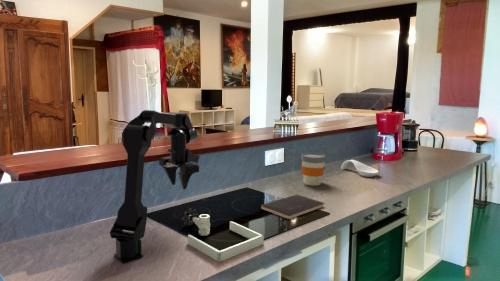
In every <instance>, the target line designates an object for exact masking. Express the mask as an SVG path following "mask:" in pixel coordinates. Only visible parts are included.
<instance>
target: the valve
mask: <svg viewBox="0 0 500 281" xmlns="http://www.w3.org/2000/svg"><path fill="white" fill-rule="evenodd" d="M197 212H198V210H197V209H196V208H195V209H192V208H191V207H190V208H188V211H184V212H183V213H184V216H182V218H181V220H182V221H184V222H183V224H184V225H185V226H187V225H189V226H190V227H192V226H193V223H194V224H195V225H196V226H197V227H198V235H200V236H201V237H203V236H209V234H211V233H210V232H211V231H210V230H211V229H210V228H211V222H210V221H211V216H210V215H209V214H205V213H204V214H200V215H199V213H197ZM191 213H192V214H191Z"/></svg>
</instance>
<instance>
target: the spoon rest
mask: <svg viewBox="0 0 500 281" xmlns="http://www.w3.org/2000/svg"><path fill="white" fill-rule="evenodd" d="M349 163H352V164H353V166H354V167H355V169H356V171H357V173H358V174H359V175H360V176H362V177H364V178H373V177H375V176H377V175H378V174H379V172H380V171H379V170H378V169H376V168H373V167H371V166H369V165H366V164H365V163H363V162H360V161H358V160H356V159H350V160H349V159H347V160H344V162H343V163H342V164H341V167H340V170H342V171H343V170H347V169H348V168H347V166H348V164H349Z"/></svg>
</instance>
